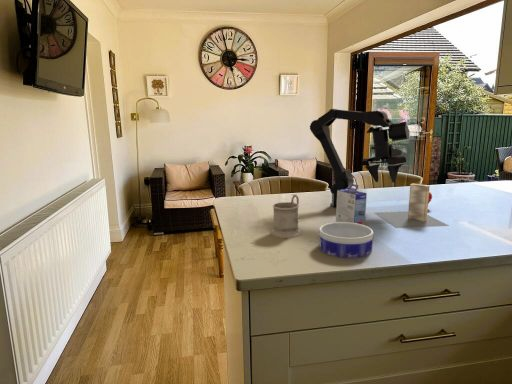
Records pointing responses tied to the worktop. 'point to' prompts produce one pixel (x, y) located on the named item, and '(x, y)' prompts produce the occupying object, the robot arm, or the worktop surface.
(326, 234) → the dog bowl
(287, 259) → the worktop surface
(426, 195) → the board
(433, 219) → the mat
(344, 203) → the ink cartridge box
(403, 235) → the worktop surface
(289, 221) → the mug
